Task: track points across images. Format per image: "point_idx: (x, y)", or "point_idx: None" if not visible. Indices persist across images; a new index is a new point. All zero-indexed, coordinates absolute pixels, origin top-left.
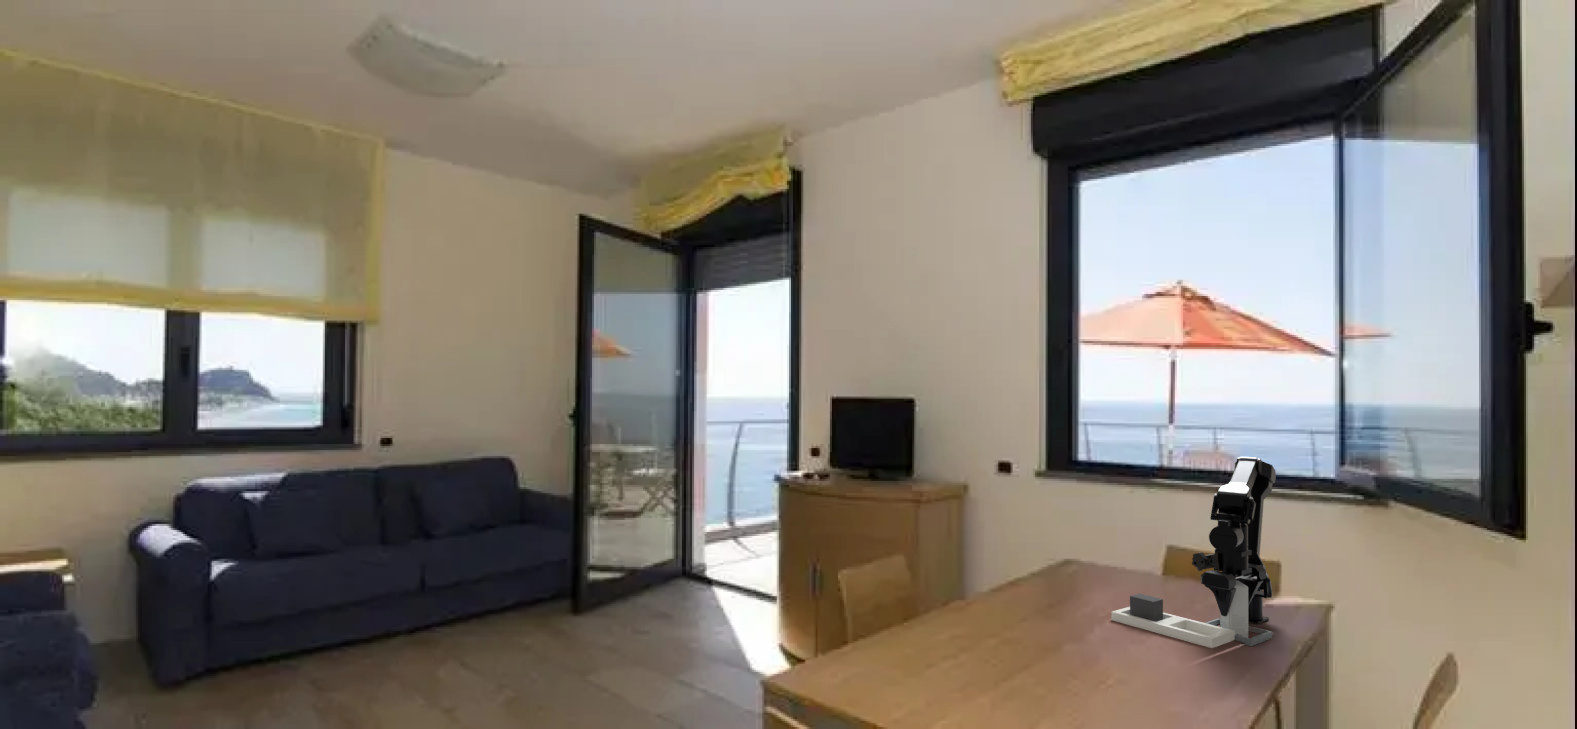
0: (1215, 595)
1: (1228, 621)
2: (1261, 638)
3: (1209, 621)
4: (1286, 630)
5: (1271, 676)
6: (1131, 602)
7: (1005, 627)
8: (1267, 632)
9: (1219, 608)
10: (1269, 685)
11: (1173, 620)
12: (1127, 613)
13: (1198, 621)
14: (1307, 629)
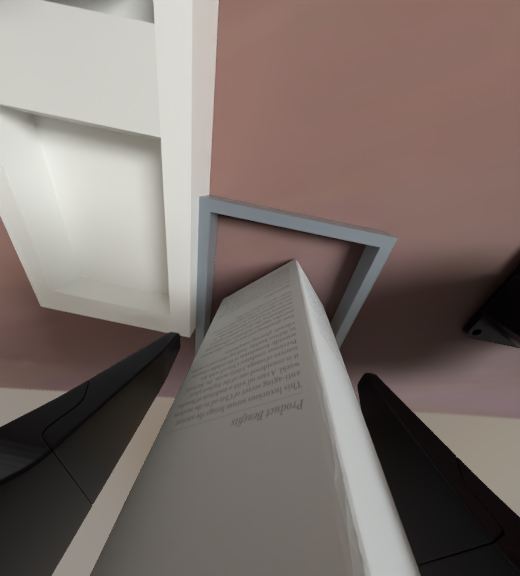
0: (19, 425)
1: (209, 330)
2: None
3: (307, 222)
4: (423, 386)
5: (64, 387)
6: None
7: None
8: None
9: (139, 351)
10: (24, 388)
11: (80, 78)
12: None
13: (191, 207)
14: (462, 414)
